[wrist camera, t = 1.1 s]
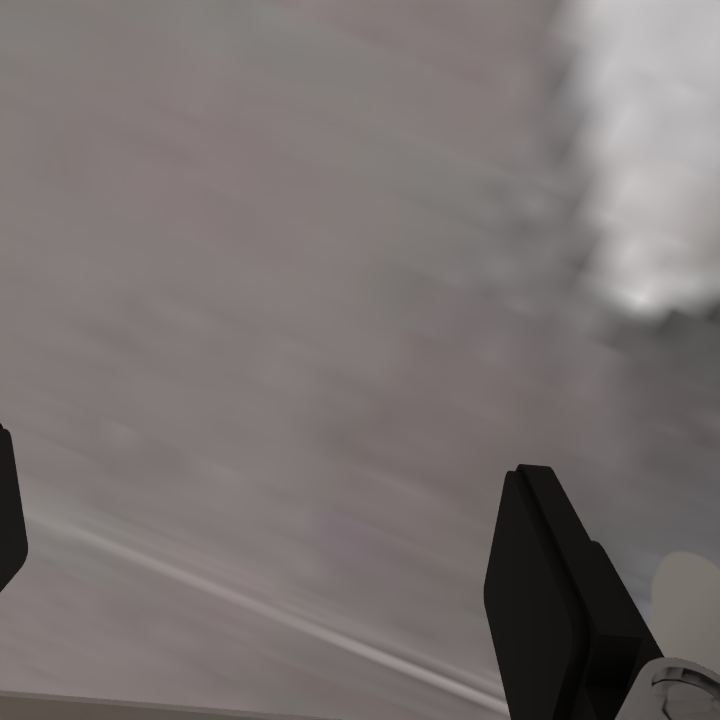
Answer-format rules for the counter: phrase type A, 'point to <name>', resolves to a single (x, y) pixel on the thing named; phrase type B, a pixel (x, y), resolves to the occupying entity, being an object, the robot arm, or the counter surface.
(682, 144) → the counter surface
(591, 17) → the counter surface
